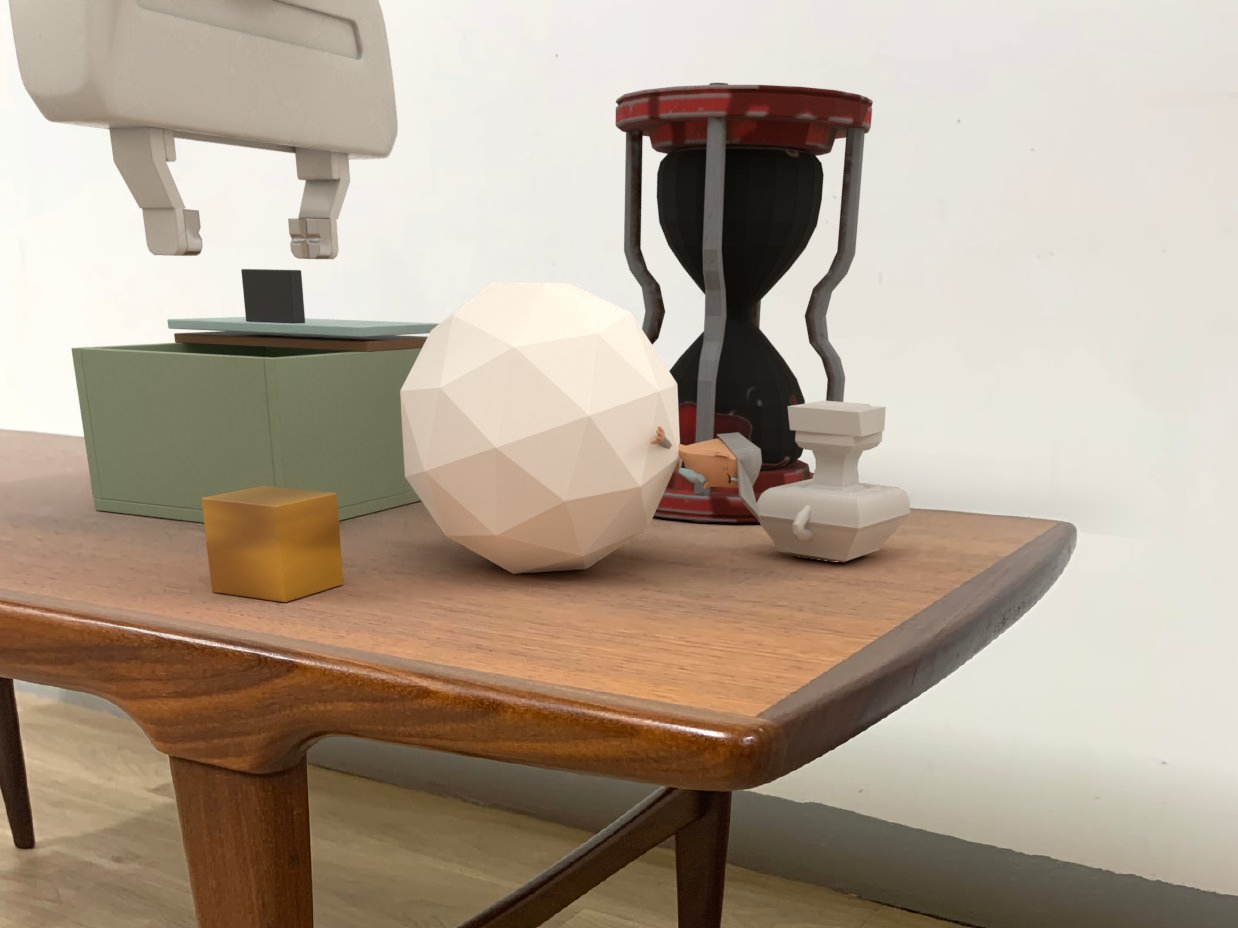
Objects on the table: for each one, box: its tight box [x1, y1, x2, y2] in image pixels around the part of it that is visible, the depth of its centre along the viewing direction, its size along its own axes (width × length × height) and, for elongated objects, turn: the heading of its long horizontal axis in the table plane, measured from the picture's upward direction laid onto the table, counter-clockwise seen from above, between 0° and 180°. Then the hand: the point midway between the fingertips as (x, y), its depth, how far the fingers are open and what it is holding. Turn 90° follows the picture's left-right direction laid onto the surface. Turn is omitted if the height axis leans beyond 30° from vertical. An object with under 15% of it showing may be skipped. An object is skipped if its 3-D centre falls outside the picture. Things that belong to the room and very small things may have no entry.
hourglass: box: [615, 82, 874, 524], centre depth 86 cm, size 16×16×25 cm
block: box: [202, 486, 344, 603], centre depth 64 cm, size 5×5×5 cm
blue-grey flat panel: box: [166, 268, 440, 337], centre depth 87 cm, size 16×9×4 cm, turn 65°
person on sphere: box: [400, 281, 762, 575], centre depth 68 cm, size 14×15×20 cm
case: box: [71, 331, 428, 524], centre depth 87 cm, size 16×18×11 cm
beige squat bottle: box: [757, 400, 911, 563], centre depth 73 cm, size 9×7×8 cm
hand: (250, 257), depth 59 cm, fingers open, 8 cm apart
